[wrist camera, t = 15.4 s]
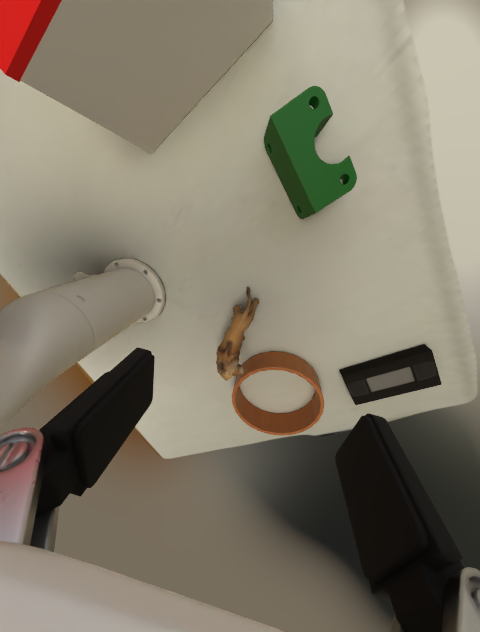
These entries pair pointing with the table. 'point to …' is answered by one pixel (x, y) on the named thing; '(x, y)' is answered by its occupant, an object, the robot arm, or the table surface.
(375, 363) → the vhs tape
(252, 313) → the lion figurine
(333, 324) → the table surface
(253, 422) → the basin
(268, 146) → the green bracket
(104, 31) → the red-lidded white box
